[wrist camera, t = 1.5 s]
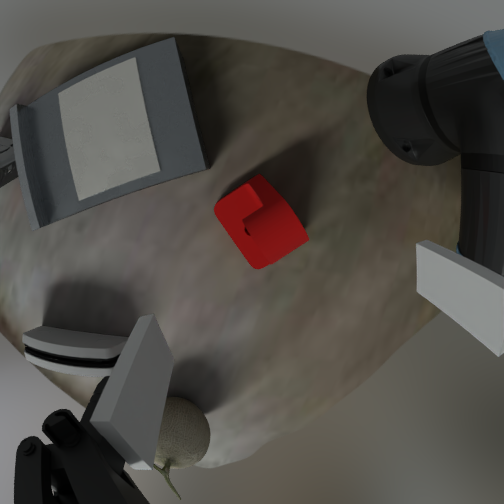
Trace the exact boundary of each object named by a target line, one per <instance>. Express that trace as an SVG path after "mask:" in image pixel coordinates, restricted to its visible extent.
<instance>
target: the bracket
mask: <svg viewBox="0 0 504 504" xmlns="http://www.w3.org/2000/svg"><path fill="white" fill-rule="evenodd" d="M214 212H215V215H216V217H217V218H218V220H219V221H220V222H221V224H222V225H223V227H224V228H225V230H226V231H227V232H228V234H229V235H230V237H231V238H232V240H233V241H234V243H235V244H236V245H237V247H238V248H239V250H240V251H241V252H242V254H243V255H244V257H245V258H246V260H247V261H248V262H249V264H250V265H251V266H252V267H253V268H255V269H261V268H264V267H265V266H267V265H269V264H273V263H275V262H276V261H278V260H279V259H281V258H282V257H284V256H285V255H287V254H288V253H290V252H292V251H293V250H295V249H296V248H298V247H299V246H301V245H302V244H304V243H305V242H307V241H308V240H309V238H308V235H307V233H306V231H305V229H304V228H303V226H302V224H301V223H300V221H299V219H298V218H297V216H296V215H295V213H294V212H293V210H292V209H291V207H290V206H289V205H288V203H287V202H286V201H285V200H284V198H283V197H282V196H281V195H280V194H279V193H278V192H277V191H276V190H275V189H274V188H273V187H272V186H271V185H270V184H269V182H268V181H267V180H266V179H265V178H264V177H263V176H262V175H261V174H258V175H256V176H255V177H253V178H252V179H250V180H249V181H247V182H245V183H244V184H242V185H241V186H239V187H238V188H236V189H235V190H233V191H232V192H230V193H229V194H227V195H226V196H224V197H223V198H221V199H220V200H219V201H218V202H217V203H216V204H215V207H214ZM245 227H246V229H247V230H248V231H246V230H245Z"/></svg>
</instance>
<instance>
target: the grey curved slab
mask: <svg viewBox="0 0 504 504" xmlns="http://www.w3.org/2000/svg"><path fill="white" fill-rule="evenodd" d="M128 338H129V337H123V336H113V335H104V334H95V333H87V332H80V331H73V330H66V329H60V328H53V327H47V326H40V327H37V328H35V329H32V330H30V331H27V332H25V333H23V343H24V344H25V346H27V347H25V350H24V353H25V356H26V359H27V360H28V361H30V362H32V363H34V364H36V365H38V366H41V367H43V368H46V369H49V370H53V371H57V372H61V373H66V374H72V375H80V376H91V377H105V376H110V375H111V373H112V371H113V369H114V367H115V364H116V362H117V360H118V358H119V356H120V354H121V352H122V350H123V348H124V346H125V344H126V342H127V340H128Z"/></svg>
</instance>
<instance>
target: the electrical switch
mask: <svg viewBox="0 0 504 504" xmlns="http://www.w3.org/2000/svg"><path fill="white" fill-rule="evenodd" d="M10 169H11V171H10V172H9V173H8V171H9V170H10ZM17 177H19V176H18V171H17V166H16V160H15V154H14V147H13V140H12V139H9V138H5V137H1V136H0V187H2V186H4V185H5V184H7V183H9V182H10V181H12V180H14V179H15V178H17Z"/></svg>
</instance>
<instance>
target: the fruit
mask: <svg viewBox="0 0 504 504" xmlns="http://www.w3.org/2000/svg"><path fill="white" fill-rule="evenodd" d="M209 443H210V428H209V424H208V421H207V419H206V417H205V415H204V414H203V412H202V411H201V410H200V409H199V408H198V407H197V406H196V405H195V404H193V403H192V402H190V401H188V400H186V399H184V398H180V397H166V402H165V407H164V411H163V416H162V421H161V427H160V432H159V437H158V442H157V448H156V453H155V459H154V462H155V463H157V464H159V465H161V466H163V469H160V468H159V467H157V466H156V465H155V464H154V465H153V467H154V468H155V469H156V470H158V471H159V472H160V473H161V474H162V475H163V476H164V478H165V480H166V482H167V483H168V485H169V487H170V488H171V489H172V491H173V492H174V493H175V494H176V495H177V497H178V498H179V499H180V500H181V498H180V496H179V494H178V493H177V491H176V490H175V488H174V487H173V485H172V484H171V482H170V479H169V469H170V468H172V469H173V468H174V469H180V468H187V467H190V466H193V465H194V464H196V463H197V462H199V461H200V460H201V459H202V458H203V457H204V455H205V454H206V452H207V450H208V447H209Z"/></svg>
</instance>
